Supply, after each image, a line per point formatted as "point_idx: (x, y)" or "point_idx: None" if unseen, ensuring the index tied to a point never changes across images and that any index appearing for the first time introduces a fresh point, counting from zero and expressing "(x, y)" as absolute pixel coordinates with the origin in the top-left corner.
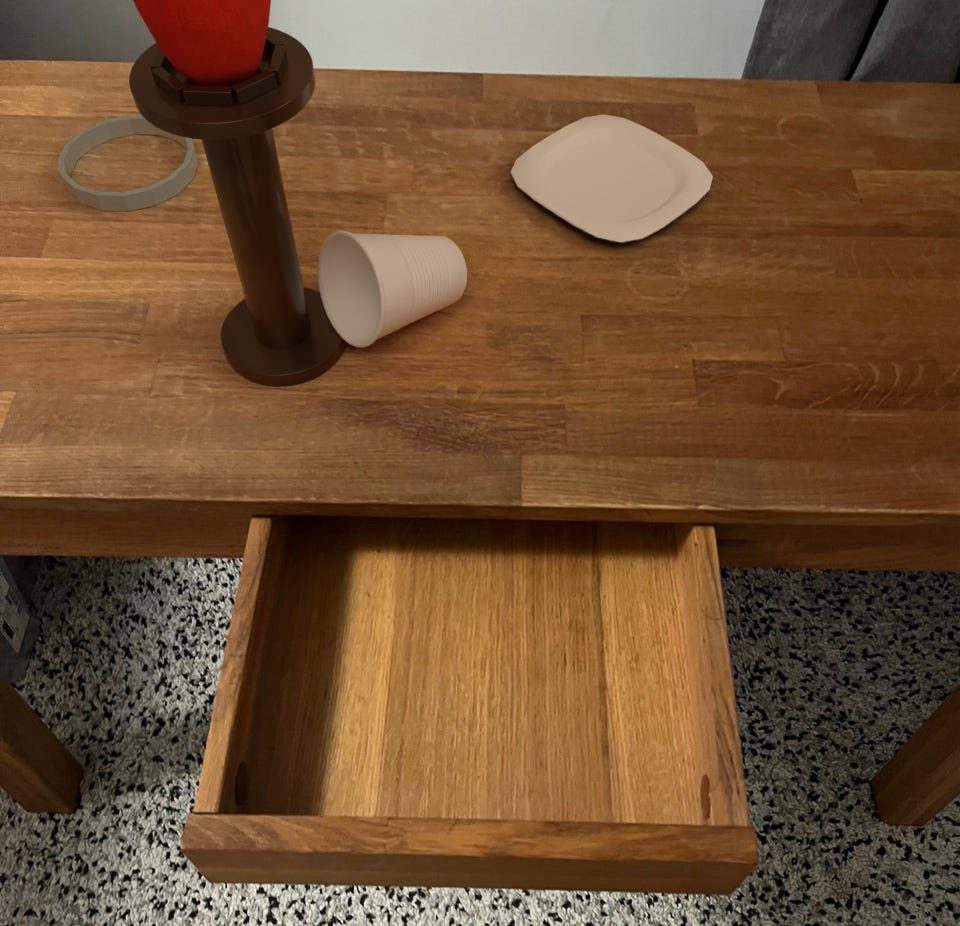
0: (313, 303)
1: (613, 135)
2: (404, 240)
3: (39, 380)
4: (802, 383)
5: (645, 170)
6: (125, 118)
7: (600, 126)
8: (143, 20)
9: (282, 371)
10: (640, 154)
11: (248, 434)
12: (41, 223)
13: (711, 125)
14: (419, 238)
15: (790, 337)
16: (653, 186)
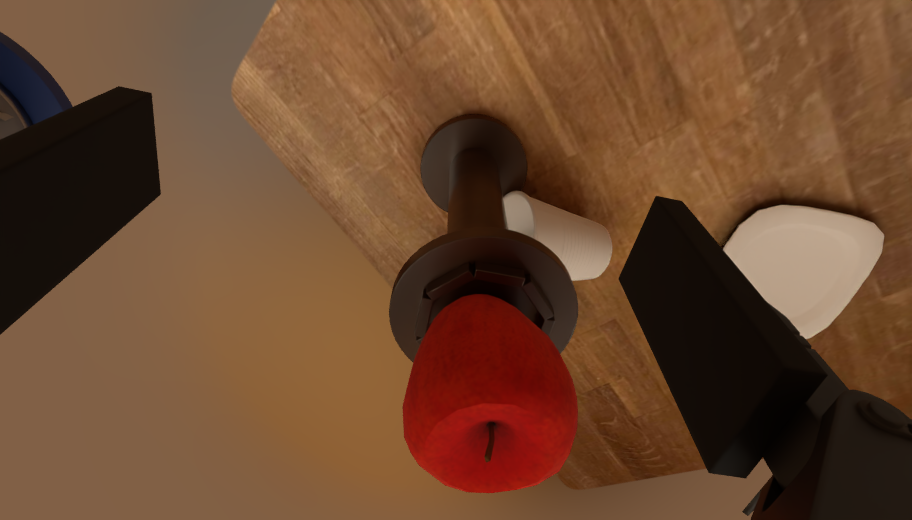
0: (512, 173)
1: (851, 254)
2: (568, 265)
3: (303, 16)
4: (620, 429)
5: (806, 292)
6: None
7: (859, 243)
8: (426, 334)
9: (437, 200)
10: (829, 279)
11: (383, 204)
12: None
13: (901, 301)
14: (584, 262)
15: (656, 414)
16: (784, 305)
